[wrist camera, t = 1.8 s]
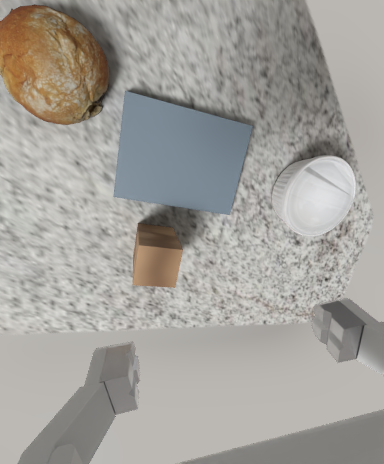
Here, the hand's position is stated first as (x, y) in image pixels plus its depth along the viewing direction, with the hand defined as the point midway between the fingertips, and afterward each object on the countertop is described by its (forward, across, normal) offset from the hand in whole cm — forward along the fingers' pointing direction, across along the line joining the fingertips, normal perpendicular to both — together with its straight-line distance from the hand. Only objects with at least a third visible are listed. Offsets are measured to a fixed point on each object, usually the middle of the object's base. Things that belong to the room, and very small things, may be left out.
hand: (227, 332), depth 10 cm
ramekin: (+26, -19, +2) cm, 33 cm away
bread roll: (+24, +11, -16) cm, 31 cm away
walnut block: (+24, +4, +6) cm, 25 cm away
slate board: (+25, -2, -5) cm, 25 cm away
